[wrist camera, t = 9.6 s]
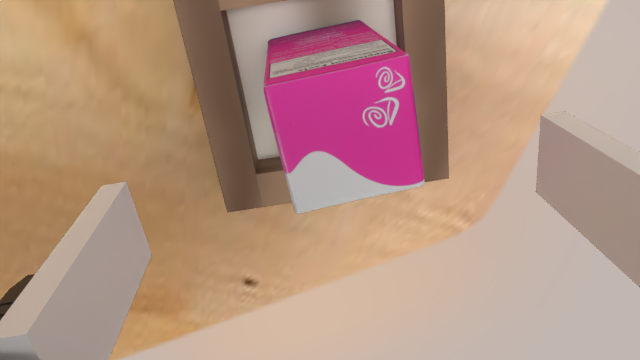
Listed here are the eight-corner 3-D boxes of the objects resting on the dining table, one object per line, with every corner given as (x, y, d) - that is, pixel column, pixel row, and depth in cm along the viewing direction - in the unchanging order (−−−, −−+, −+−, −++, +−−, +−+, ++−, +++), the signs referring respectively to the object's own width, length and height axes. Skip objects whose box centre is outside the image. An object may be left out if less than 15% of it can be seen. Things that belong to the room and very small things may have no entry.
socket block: (232, 189, 33) (227, 212, 30) (178, -32, 27) (165, -30, 24) (434, 158, 33) (448, 178, 30) (425, -70, 27) (442, -73, 24)
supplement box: (379, 110, 30) (427, 192, 20) (287, 130, 30) (288, 220, 20) (365, 16, 28) (411, 53, 17) (265, 37, 28) (252, 86, 18)
